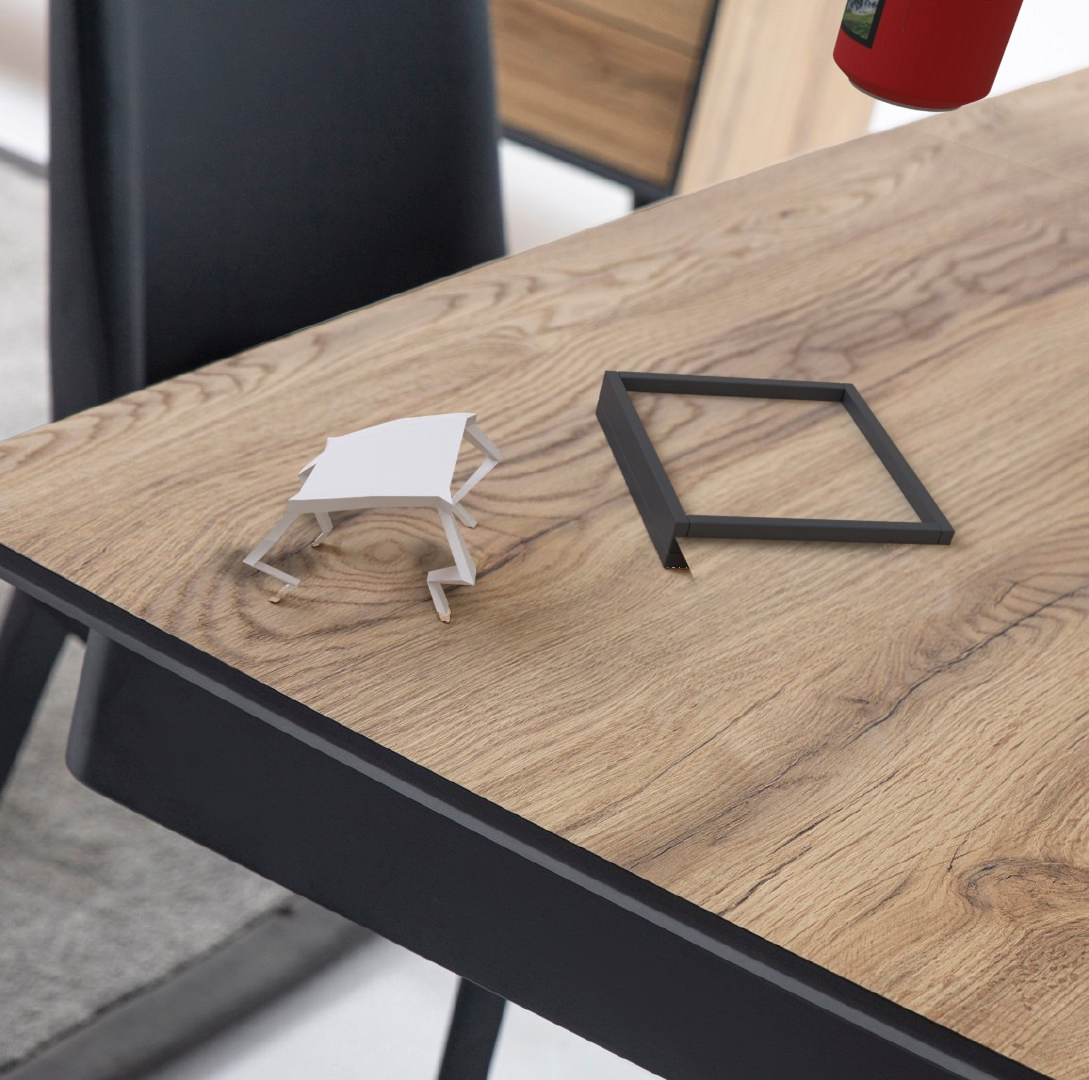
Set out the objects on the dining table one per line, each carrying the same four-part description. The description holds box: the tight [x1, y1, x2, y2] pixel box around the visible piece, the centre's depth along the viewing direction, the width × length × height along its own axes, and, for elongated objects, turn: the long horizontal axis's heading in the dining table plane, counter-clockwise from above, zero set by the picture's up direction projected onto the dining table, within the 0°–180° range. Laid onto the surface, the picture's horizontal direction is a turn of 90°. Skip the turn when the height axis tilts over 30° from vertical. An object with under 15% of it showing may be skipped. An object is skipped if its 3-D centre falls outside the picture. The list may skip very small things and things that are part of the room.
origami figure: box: [241, 411, 505, 615], centre depth 62 cm, size 12×8×5 cm
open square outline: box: [594, 370, 956, 569], centre depth 71 cm, size 12×12×2 cm
